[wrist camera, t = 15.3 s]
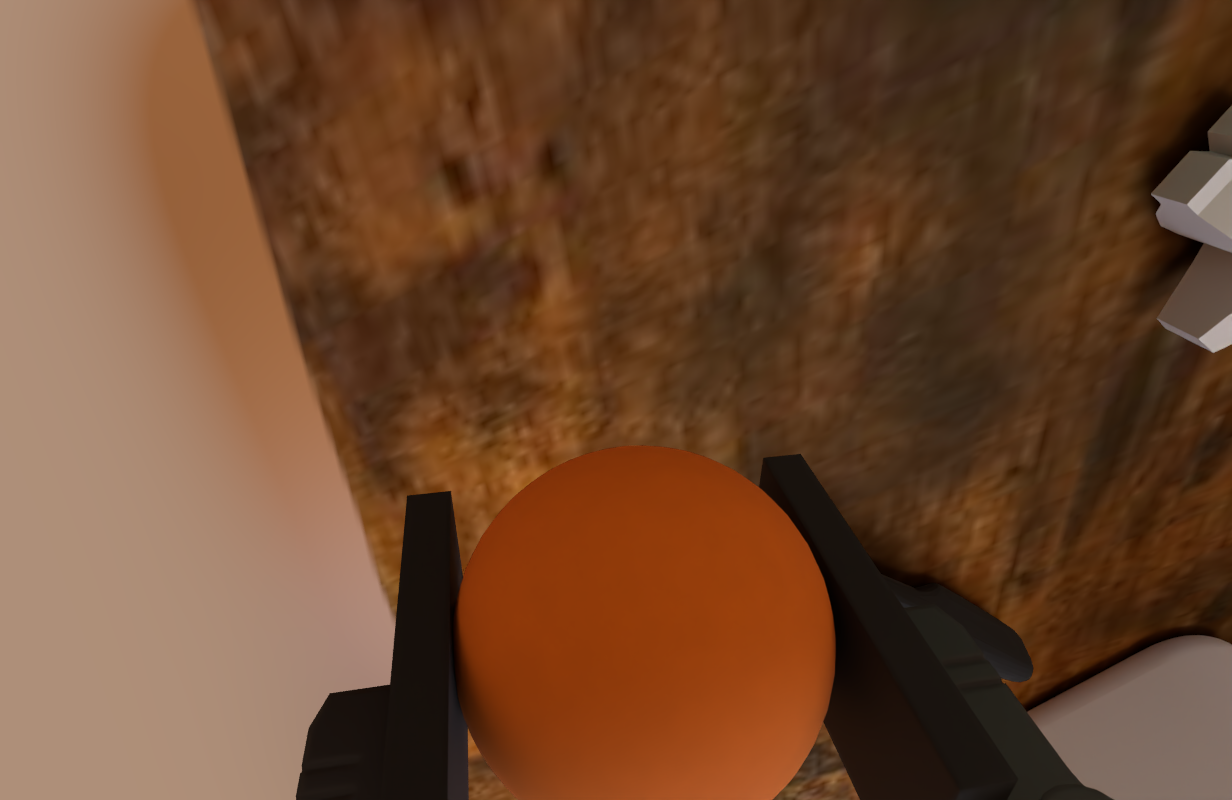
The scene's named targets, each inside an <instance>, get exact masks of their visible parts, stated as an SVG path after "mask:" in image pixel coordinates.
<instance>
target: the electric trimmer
mask: <svg viewBox="0 0 1232 800" xmlns="http://www.w3.org/2000/svg"><path fill="white" fill-rule="evenodd" d="M881 575H882V574H881ZM882 576H883V578H884V579H885V581H886V582H887V584H888V585H889V587H890V588H891V590H892V591H893V593H894V594H895V596H896V597H897V599H898V600H899V602H900V603H901V605H902V606H903V608H907V607H913V606H920V605H927V604H935V605H937V606H938V607H939V608H940V609H942V610H943V611H944V612H946V613H947V614H948V615H949V616H951V617H952V618H953V619H955V620H956V621H957V622H959V623H960V624H961V625H962V626H964V628H965V629H966V630H967V632H968V633H969V635H970V636H971V637H972V639H973V640H974V641H975V643H976V644H977V645H978V647H979V648H980V649H981V651H982V652H983V653H984V658H985V660H989V662H990V663H991V664H992V666H993V667H994V668H995V670H996V671H997V672H998V674H999V675H1000V676H1001V678H1003V679H1006V680H1010V681H1014V682H1022V681H1027V680H1029V679H1030V677H1031V676H1032V672H1033V665H1032V662H1031V658H1030V656H1029V654H1028V652H1027V650H1026V648H1025V646H1024V644H1023V642H1022V639H1021V638H1020V637H1019V635H1018V634H1017V633H1016V632H1015V631H1014V630H1013V629H1011V628H1010V627H1009V626H1007V625H1006V624H1004V623H1003V622H1001V621H1000V620H998V619H996V618H995V617H993V616H992V615H990V614H988V613H987V612H985V611H983V610H982V609H980V608H979V607H977V606H975V605H974V604H972V603H970V602H969V601H967V600H966V599H964V598H962V597H961V596H959V595H957V594H956V593H954V592H952V591H950V590H948V589H946V588H945V587H943V586H941V585H939V584H936V583H931V584H927V585H924V586H920V587H917V588H913V587H911V586H909V585H906V584H904V583H901V582H899V581H897V580H894V579H892V578H889V577H887V576H885V575H882Z"/></svg>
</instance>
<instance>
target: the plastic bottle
mask: <svg viewBox="0 0 1232 800" xmlns="http://www.w3.org/2000/svg"><path fill="white" fill-rule="evenodd" d="M1027 713H1028V714H1029V716H1030V717H1031V718H1032V720H1033V721H1034V722H1035V724H1036V725H1037V726H1038V728H1039V729H1040V730H1041V732H1042V733H1043V735H1044V736H1045V737H1046V739H1047V740H1048V741H1049V743H1050V744H1051V745H1052V747H1053V748H1054V749H1055V751H1056V752H1057V753H1058V755H1059V756H1060V757H1061V759H1062V760H1063V762H1064V763H1065V764H1066V766H1067V767H1068V768H1069V769H1070V771H1071V772H1072V773H1073V774H1074V775H1075V776H1076V777H1077V779H1078V780H1079V781H1080V782H1081V783H1082V784H1083V785H1084V786H1086V787H1089V788H1093V789H1096V790H1098V791H1100V792H1102V793H1104V794H1105V795H1107V796H1109V797H1110V798H1112V799H1114V800H1232V644H1230V643H1228V642H1226V641H1223V640H1221V639H1218V638H1215V637H1210V636H1204V635H1187V636H1180V637H1175V638H1172V639H1168V640H1165V641H1162V642H1159V643H1157V644H1154V645H1152V646H1150V647H1148V648H1146V649H1144V650H1142V651H1140V652H1138V653H1136V654H1134V655H1132V656H1131V657H1129V658H1127V659H1125V660H1123V661H1121V662H1119V663H1117V664H1116V665H1114V666H1112V667H1110V668H1108V669H1106V670H1104V671H1102V672H1101V673H1099V674H1097V675H1095V676H1093V677H1091V678H1089V679H1087V680H1086V681H1084V682H1082V683H1080V684H1078V685H1076V686H1074V687H1072V688H1071V689H1069V690H1067V691H1065V692H1063V693H1061V694H1059V695H1057V696H1056V697H1054V698H1052V699H1050V700H1048V701H1046V702H1044V703H1042V704H1041V705H1039V706H1037V707H1035V708H1033V709H1031V710H1030V711H1028V712H1027Z"/></svg>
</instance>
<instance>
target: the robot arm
mask: <svg viewBox="0 0 1232 800" xmlns="http://www.w3.org/2000/svg"><path fill="white" fill-rule="evenodd" d="M759 488H760V489H762V490H763V491H764V492H765V493H766V494H767V495H768V496H769V497H770V498H771V499H772V500H773V501H774V502H775V503H776V504H777V505H778V506H779V507H780V508H781V509H782V510H783V511H784V512H785V513H786V514H787V515H788V517H789V518H790V519H791V521H792V522H793V523H794V525H795V526H796V528H797V529H798V531H799V532H800V533H801V535H802V536H803V538H804V539H805V541H806V542H807V544H808V545H809V548H810V550H811V552H812V554H813V556H814V558H815V560H816V563H817V565H818V567H819V569H820V571H821V574H822V576H823V578H824V581H825V585H826V588H827V592H828V595H829V599H830V603H831V608H832V612H833V619H834V627H835V636H836V659H835V676H834V681H833V687H832V692H831V696H830V701H829V706H828V710H827V713H826V716H825V718H824V721H823V722H824V724H825V726H826V728H827V730H828V732H829V734H830V736H831V739H832V741H833V743H834V745H835V747H836V749H837V751H838V753H839V756H840V758H841V760H842V762H843V764H844V766H845V768H846V770H847V773H848V775H849V777H850V779H851V781H852V783H853V785H854V788H855V790H856V792H857V794H858V796H859V798H860V800H1114V799H1112V798H1110V797H1109V796H1107V795H1105V794H1104V793H1102V792H1100V791H1098V790H1096V789H1093V788H1089V787H1086V786H1084V785H1083V784H1082V783H1081V782H1080V781H1079V780H1078V779H1077V777H1076V776H1075V775H1074V774H1073V773H1072V772H1071V771H1070V769H1069V768H1068V767H1067V766H1066V764H1065V763H1064V762H1063V760H1062V759H1061V757H1060V756H1059V755H1058V753H1057V752H1056V751H1055V749H1054V748H1053V747H1052V745H1051V744H1050V743H1049V741H1048V740H1047V739H1046V737H1045V736H1044V735H1043V733H1042V732H1041V730H1040V729H1039V728H1038V726H1037V725H1036V724H1035V722H1034V721H1033V720H1032V718H1031V717H1030V716H1029V714H1028V713H1027V712H1026V710H1025V709H1024V707H1023V706H1022V705H1021V703H1020V702H1019V701H1018V699H1017V698H1016V697H1015V695H1014V694H1013V693H1012V691H1011V690H1010V689H1009V687H1008V686H1007V685H1006V683H1005V684H1003V683H1002V681H1001V676H1000V675H999V674H998V672H997V671H996V670H995V668H994V667H993V666H992V664H991V663H990V662H989V660H985V658H984V653H983V652H982V651H981V649H980V648H979V647H978V645H977V644H976V643H975V641H974V640H973V639H972V637H971V636H970V635H969V633H968V632H967V630H966V629H965V628H964V626H962V625H961V624H960V623H959V622H957V621H956V620H955V619H953V618H952V617H951V616H949V615H948V614H947V613H946V612H944V611H943V610H942V609H940V608H939V607H938V606H937V605H935V604H927V605H920V606H913V607H907V608H903V606H902V605H901V603H900V602H899V600H898V599H897V597H896V596H895V594H894V593H893V591H892V590H891V588H890V587H889V585H888V584H887V582H886V581H885V579H884V578H883V576H882V575H881V573H880V572H879V570H878V569H877V567H876V566H875V564H874V563H873V561H872V560H871V558H870V557H869V555H868V554H867V552H866V551H865V549H864V548H863V546H862V545H861V543H860V542H859V540H858V539H857V537H856V536H855V534H854V533H853V531H852V530H851V528H850V527H849V526H848V524H847V523H846V521H845V520H844V518H843V517H842V515H841V514H840V512H839V511H838V509H837V508H836V506H835V505H834V503H833V502H832V500H831V499H830V497H829V496H828V494H827V493H826V491H825V490H824V488H823V487H822V485H821V484H820V482H819V481H818V479H817V478H816V476H815V475H814V473H813V472H812V470H811V469H810V467H809V466H808V464H807V463H806V461H805V460H804V458H803V457H802V455H801V454H796V455H787V456H777V457H768V458H763V465H762V471H761V478H760V485H759ZM462 579H463V574H462V567H461V560H460V553H459V546H458V539H457V532H456V525H455V518H454V511H453V504H452V497H451V491H447V492H438V493H428V494H419V495H409V496H407V504H406V515H405V526H404V537H403V549H402V560H401V571H400V582H399V593H398V604H397V615H396V626H395V638H394V649H393V660H392V671H391V682H390V685H384V686H377V687H371V688H364V689H357V690H350V691H343V692H336V693H330V694H329V696H328V698H327V699H326V701H325V702H324V704H323V706H322V707H321V709H320V711H319V712H318V714H317V715H316V717H315V719H314V720H313V722H312V724H311V725H310V727H309V730H308V735H307V741H306V746H305V751H304V756H303V762H302V773H300V777H299V783H298V788H297V794H296V800H469V797H468V726H467V724H466V721H465V719H464V717H463V713H462V710H461V706H460V702H459V699H458V694H457V686H456V677H455V667H454V649H453V621H454V611H455V604H456V600H457V596H458V592H459V589H460V585H461V582H462Z"/></svg>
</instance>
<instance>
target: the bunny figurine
mask: <svg viewBox="0 0 1232 800" xmlns="http://www.w3.org/2000/svg"><path fill="white" fill-rule="evenodd" d="M1208 140H1209V149H1210V151H1189V153H1188V154H1187V155H1186V156H1185V157H1184V158H1183V159H1182V160H1181V161H1180V162H1179V164H1178V165H1177V166H1176V167H1175V168H1174V169H1173V170H1172V171H1171V172H1170V173H1169V174H1168V176H1167V177H1166V178H1165V179H1164V180H1163V181H1162V182H1161V183H1160V184H1159V185H1158V187H1157V188H1156V189H1155V190H1154V191H1153V192H1152V193H1151V195H1152V196H1153V197H1154V198H1155V199H1157V200H1158V201H1159V202H1160V203H1161V205H1160V207H1159V209H1158V210H1157V212H1156V216H1157V219H1158V221H1159V224H1160V226H1162V227H1164V228H1166V229H1168V230H1170V231H1172V232H1174V233H1176V234H1179V235H1182V236H1185V237H1188V238H1191V239H1193V240H1196V241H1199V242H1202V243H1204V244H1203V246H1202V247H1201V249H1200V251H1199V252H1198V254H1197V256H1196V257H1195V259H1194V261H1193V262H1192V264H1191V266H1190V267H1189V269H1188V270H1187V272H1186V273H1185V275H1184V276H1183V278H1182V280H1181V281H1180V283H1179V284H1178V286H1177V287H1176V289H1175V290H1174V292H1173V294H1172V295H1171V297H1170V298H1169V300H1168V301H1167V303H1166V304H1165V306H1164V308H1163V309H1162V311H1161V312H1160V314H1159V315H1158V317H1157V319H1158V320H1159V321H1160V323H1161V324H1162V325H1163V326H1164V327H1165V328H1166V329H1167V330H1169V331H1171V332H1173V333H1175V334H1177V335H1179V336H1181V337H1183V338H1185V339H1187V340H1189V341H1191V342H1193V343H1195V344H1197V345H1199V346H1201V347H1203V348H1205V349H1207V350H1209V351H1211V352H1213V353H1214V352H1216V351H1218V350H1221V349H1223V348H1225V347H1227V346H1229V345H1231V344H1232V105H1231V106H1230V108H1229V109H1228V110H1227V111H1226V112H1225V113H1224V114H1223V115H1222V116H1221V117H1220V119H1219V120H1218V121H1217V122H1216V123H1215V124H1214V125H1213V126H1212V127H1211V128H1210V130H1209V131H1208Z"/></svg>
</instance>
